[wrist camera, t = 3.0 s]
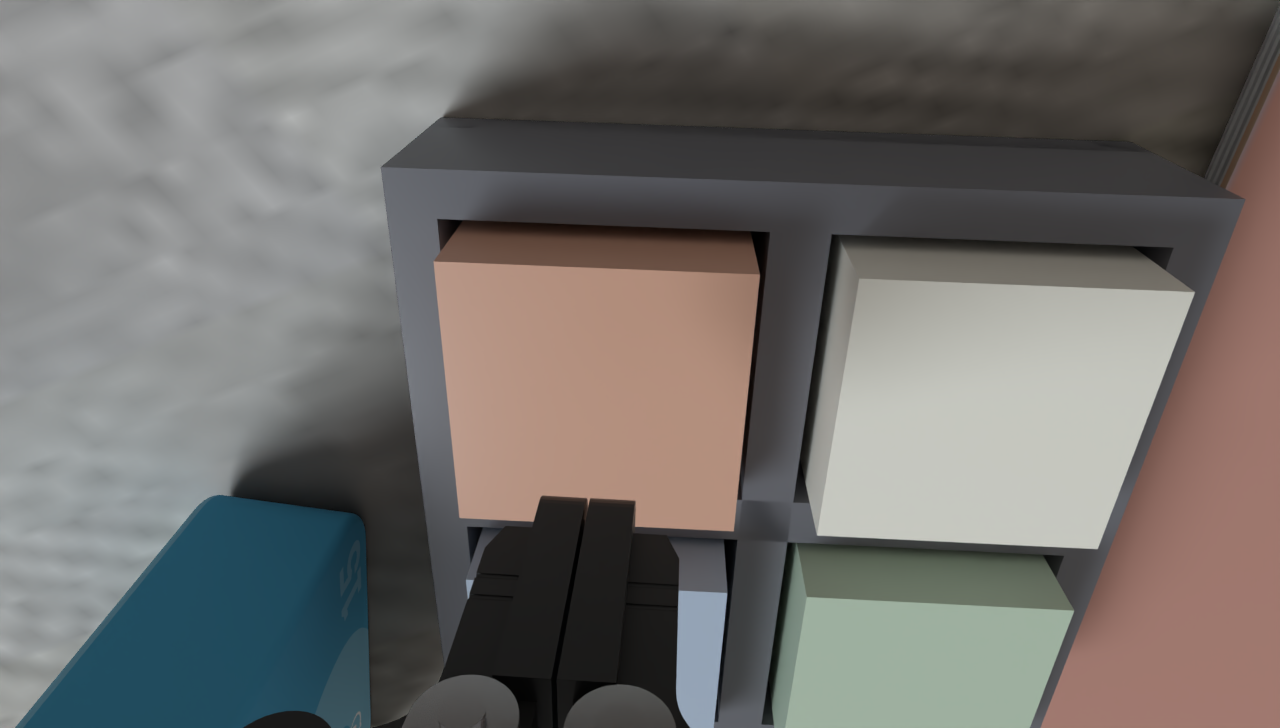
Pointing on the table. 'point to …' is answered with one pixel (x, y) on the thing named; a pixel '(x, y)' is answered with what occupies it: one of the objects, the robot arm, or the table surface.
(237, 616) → the data package
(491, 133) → the keypad
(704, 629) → the dusty blue key
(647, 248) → the terracotta key
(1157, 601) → the notebook
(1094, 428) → the cream key
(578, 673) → the robot arm
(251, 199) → the table surface
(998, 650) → the sage key
